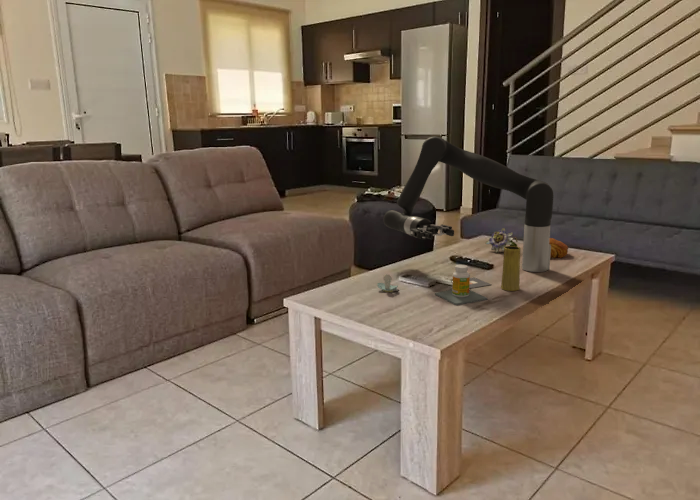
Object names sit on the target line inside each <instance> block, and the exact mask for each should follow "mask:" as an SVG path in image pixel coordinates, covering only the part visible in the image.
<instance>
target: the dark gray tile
mask: <svg viewBox="0 0 700 500" xmlns="http://www.w3.org/2000/svg"><path fill="white" fill-rule="evenodd" d="M487 286H492V284H491V283H489V282H486V281H484V280H481V279H479V278H478V277H477V278H476V277H474V276H473V277H470V285H469V290H470V289H476V288H483V287H487Z"/></svg>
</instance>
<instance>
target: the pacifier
mask: <svg viewBox="0 0 700 500" xmlns="http://www.w3.org/2000/svg"><path fill="white" fill-rule="evenodd" d="M382 278H383V281H384V283H383V282H378V283H377V285H376V286H377V288H378V289H380V290H381V291H383V292H386V293H392V292H396V291H399V290H400V289H399V286H398V285H392V284H391V282H392V280H393V279H392V275H390V274H388V273H385V274H384V275H383V277H382Z"/></svg>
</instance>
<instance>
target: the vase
mask: <svg viewBox="0 0 700 500" xmlns="http://www.w3.org/2000/svg"><path fill="white" fill-rule="evenodd" d="M520 263H521V247H520V246H518V245H517V246H510V245H506V247H504V251H503V261H502V264H503V265H502V274H501V285H500V289H501V290H503V291H508V292H516V291H520V279H521V278H520V272H521V269H520V267H521V266H520V265H521V264H520Z"/></svg>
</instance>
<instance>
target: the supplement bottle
mask: <svg viewBox="0 0 700 500" xmlns="http://www.w3.org/2000/svg"><path fill="white" fill-rule="evenodd" d="M468 269H469V266H468V265H466V264H456V265H455V266H454V270H455V271H453V273H452V281H453V282H452V286H451V287H452V289H451V290H452V294H453V295H454V296H456V297H467V296H469V290H470V289H469V285H470V278H471V276H470V275H471V274H470V273H469V272H468V271H469V270H468Z"/></svg>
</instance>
